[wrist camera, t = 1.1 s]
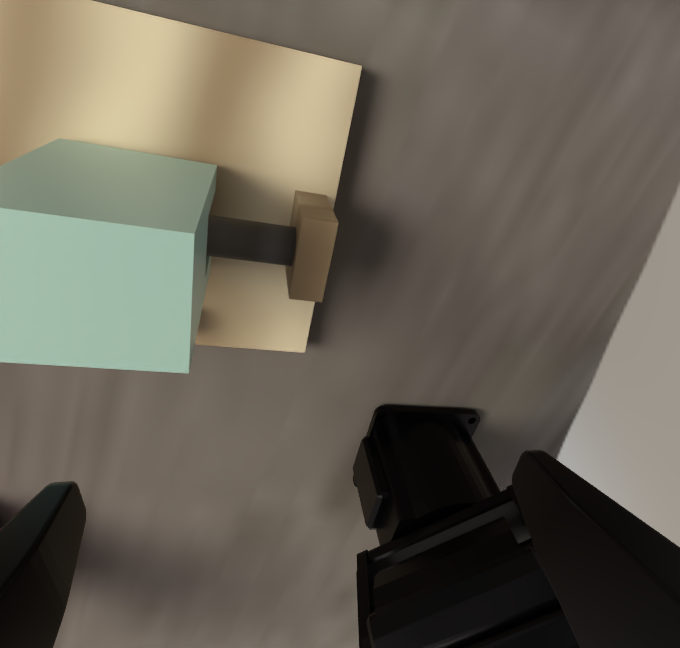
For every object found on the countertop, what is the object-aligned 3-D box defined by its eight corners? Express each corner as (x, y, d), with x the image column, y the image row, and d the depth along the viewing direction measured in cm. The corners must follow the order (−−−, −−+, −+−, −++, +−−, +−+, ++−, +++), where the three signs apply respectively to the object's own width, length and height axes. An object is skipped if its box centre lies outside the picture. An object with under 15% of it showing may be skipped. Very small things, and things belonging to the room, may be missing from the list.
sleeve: (217, 165, 16) (194, 233, 10) (210, 267, 18) (189, 373, 12) (59, 137, 14) (-70, 198, 9) (71, 251, 16) (-27, 360, 11)
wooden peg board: (356, 64, 16) (388, 71, 12) (302, 340, 22) (312, 404, 18) (-528, -149, 10) (-978, -261, 7) (-278, 293, 16) (-440, 368, 13)
